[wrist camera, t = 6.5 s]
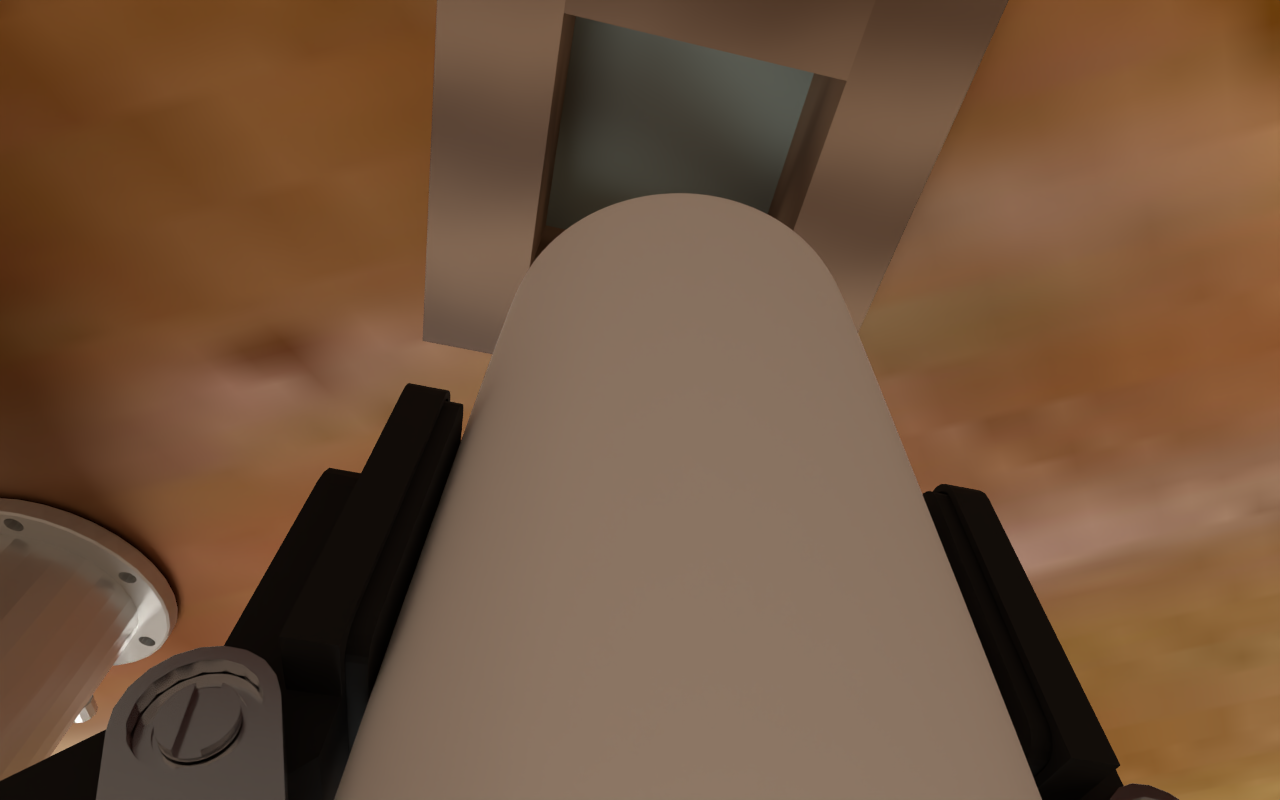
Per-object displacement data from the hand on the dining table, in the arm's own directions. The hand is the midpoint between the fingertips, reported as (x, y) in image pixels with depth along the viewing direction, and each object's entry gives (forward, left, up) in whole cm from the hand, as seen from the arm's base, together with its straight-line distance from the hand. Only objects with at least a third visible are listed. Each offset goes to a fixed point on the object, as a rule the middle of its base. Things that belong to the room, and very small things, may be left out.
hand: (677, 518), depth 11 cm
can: (0, 0, -5) cm, 5 cm away
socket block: (0, 0, -18) cm, 18 cm away
